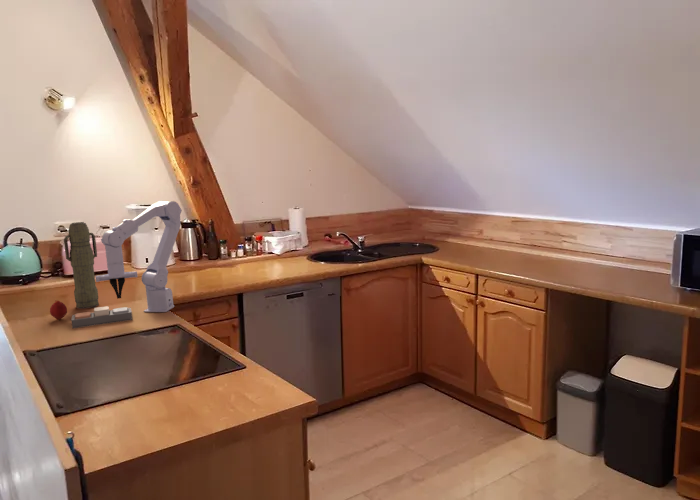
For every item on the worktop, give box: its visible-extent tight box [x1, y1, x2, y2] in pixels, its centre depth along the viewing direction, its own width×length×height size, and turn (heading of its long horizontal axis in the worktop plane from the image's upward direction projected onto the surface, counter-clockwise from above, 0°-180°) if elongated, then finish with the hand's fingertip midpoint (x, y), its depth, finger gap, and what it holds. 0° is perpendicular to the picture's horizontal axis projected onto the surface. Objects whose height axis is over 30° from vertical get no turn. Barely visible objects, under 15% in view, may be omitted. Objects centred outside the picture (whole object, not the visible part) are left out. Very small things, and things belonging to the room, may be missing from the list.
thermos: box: [63, 221, 99, 309], centre depth 237 cm, size 9×12×35 cm
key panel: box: [70, 307, 133, 329], centre depth 216 cm, size 21×8×3 cm, turn 113°
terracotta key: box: [74, 311, 92, 319], centre depth 213 cm, size 5×5×3 cm
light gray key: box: [112, 306, 128, 314], centre depth 218 cm, size 5×5×3 cm
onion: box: [49, 299, 68, 321], centre depth 220 cm, size 6×6×8 cm
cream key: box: [93, 305, 110, 316], centre depth 216 cm, size 5×5×3 cm
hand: (119, 297), depth 217 cm, fingers closed
